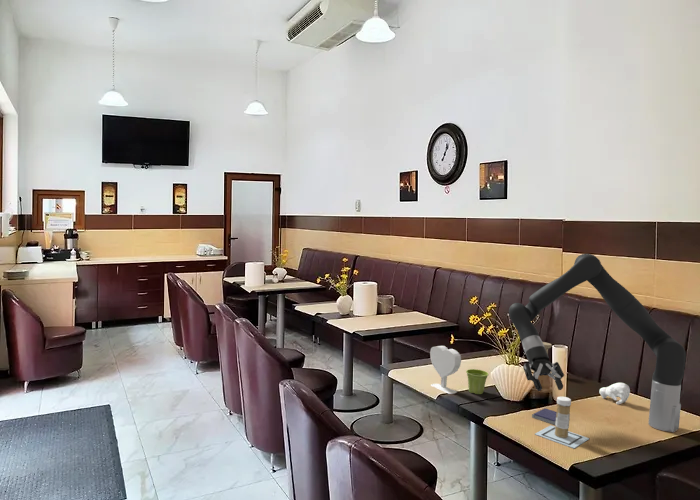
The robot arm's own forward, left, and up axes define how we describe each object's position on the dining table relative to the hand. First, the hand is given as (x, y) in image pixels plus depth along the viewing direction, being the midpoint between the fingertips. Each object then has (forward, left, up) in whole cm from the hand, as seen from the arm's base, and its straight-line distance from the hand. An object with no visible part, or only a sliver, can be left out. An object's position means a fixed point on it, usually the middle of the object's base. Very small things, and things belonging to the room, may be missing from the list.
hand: (550, 389), depth 192 cm
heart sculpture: (+49, -3, -14) cm, 51 cm away
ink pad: (+4, -9, -14) cm, 17 cm away
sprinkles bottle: (-7, +4, -14) cm, 16 cm away
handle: (+33, -61, -14) cm, 71 cm away
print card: (-7, +4, -14) cm, 16 cm away
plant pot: (+38, -11, -14) cm, 42 cm away
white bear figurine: (-4, -50, -14) cm, 52 cm away
